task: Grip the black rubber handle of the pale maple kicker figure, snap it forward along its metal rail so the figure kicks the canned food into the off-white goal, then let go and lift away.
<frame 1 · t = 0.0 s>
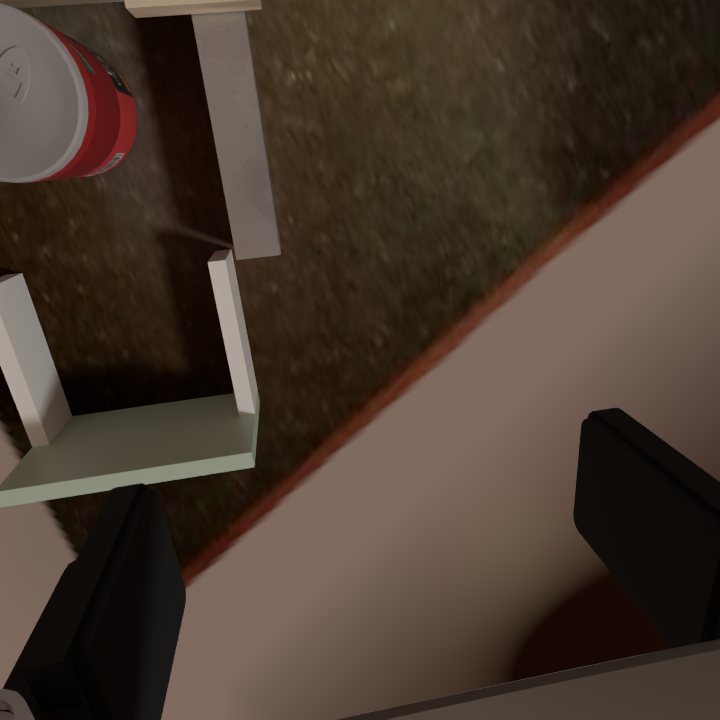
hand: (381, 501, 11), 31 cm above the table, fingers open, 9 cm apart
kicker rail: (234, 84, 35), on the table
goal: (140, 336, 40), on the table
canned food: (81, 114, 34), on the table
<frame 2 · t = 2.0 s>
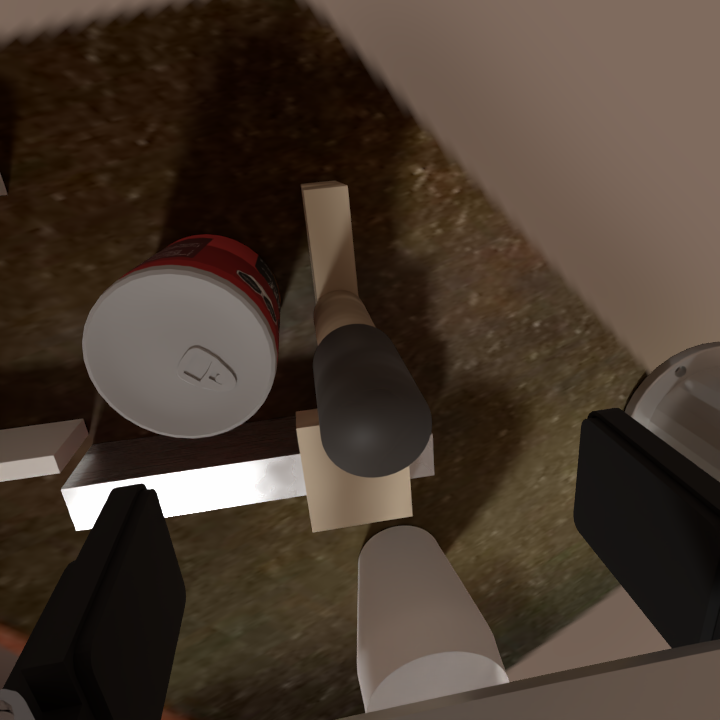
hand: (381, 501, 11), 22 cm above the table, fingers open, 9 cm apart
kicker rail: (261, 440, 35), on the table
cup: (398, 555, 41), on the table
kicker figure: (352, 398, 24), point 10 cm above the table, slide at 0.0 cm
canned food: (217, 294, 32), on the table
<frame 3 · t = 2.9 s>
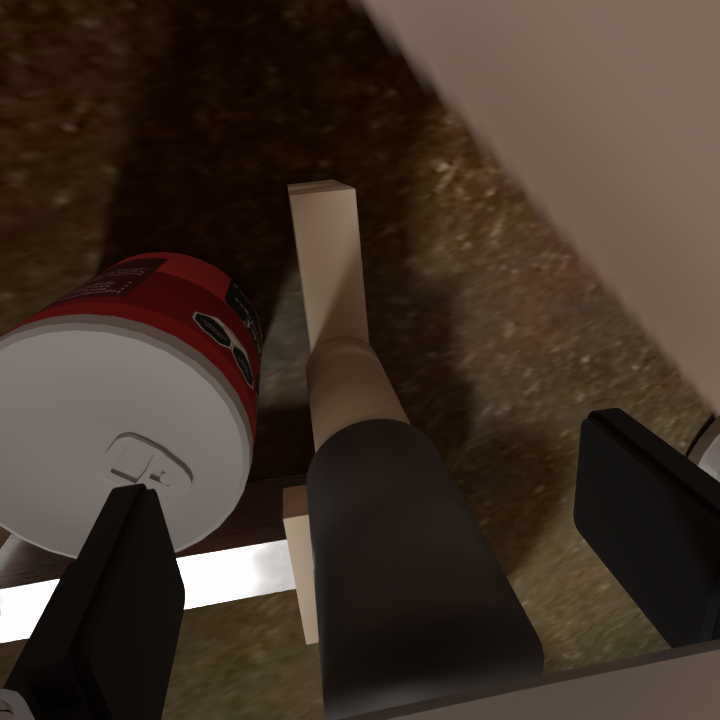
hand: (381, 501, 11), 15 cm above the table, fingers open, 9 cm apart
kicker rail: (240, 506, 28), on the table
kicker figure: (361, 492, 17), point 10 cm above the table, slide at 0.0 cm
canned food: (179, 329, 24), on the table
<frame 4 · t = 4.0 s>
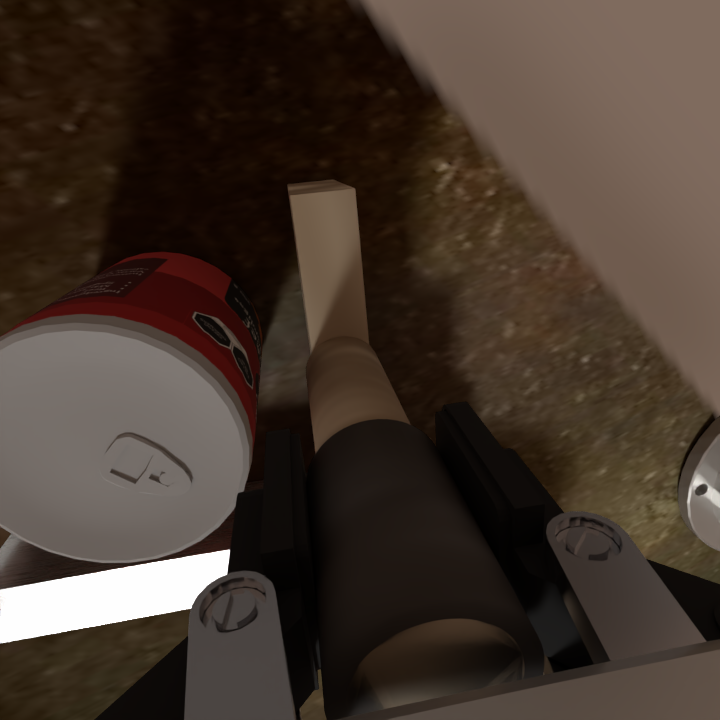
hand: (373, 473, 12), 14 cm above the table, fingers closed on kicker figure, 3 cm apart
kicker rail: (240, 506, 28), on the table
kicker figure: (361, 492, 17), point 10 cm above the table, slide at 0.0 cm, touching gripper
canned food: (179, 329, 24), on the table
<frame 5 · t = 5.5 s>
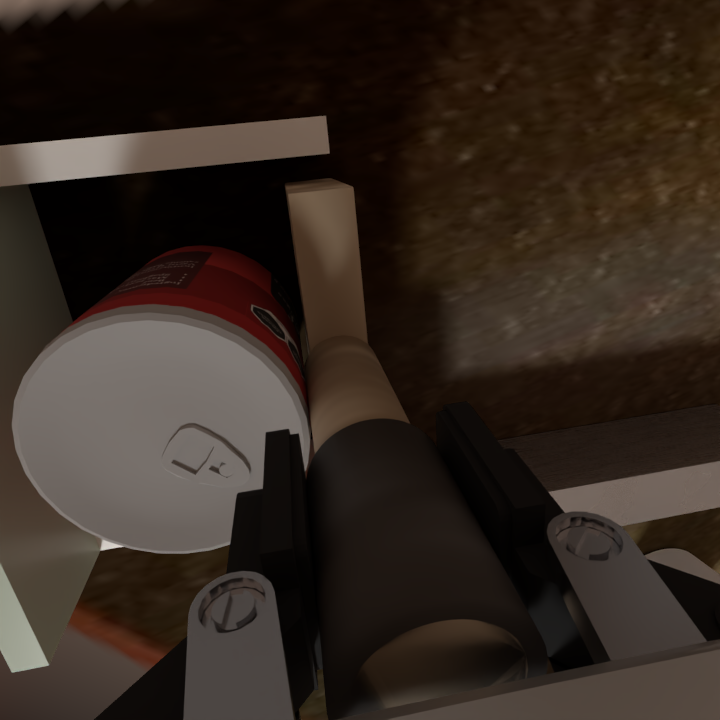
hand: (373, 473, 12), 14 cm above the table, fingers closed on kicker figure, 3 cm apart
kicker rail: (541, 454, 30), on the table
cup: (652, 581, 36), on the table
goal: (212, 325, 24), on the table
kicker figure: (360, 491, 17), point 10 cm above the table, slide at 17.7 cm, touching canned food, gripper
canned food: (215, 323, 24), on the table, touching kicker figure
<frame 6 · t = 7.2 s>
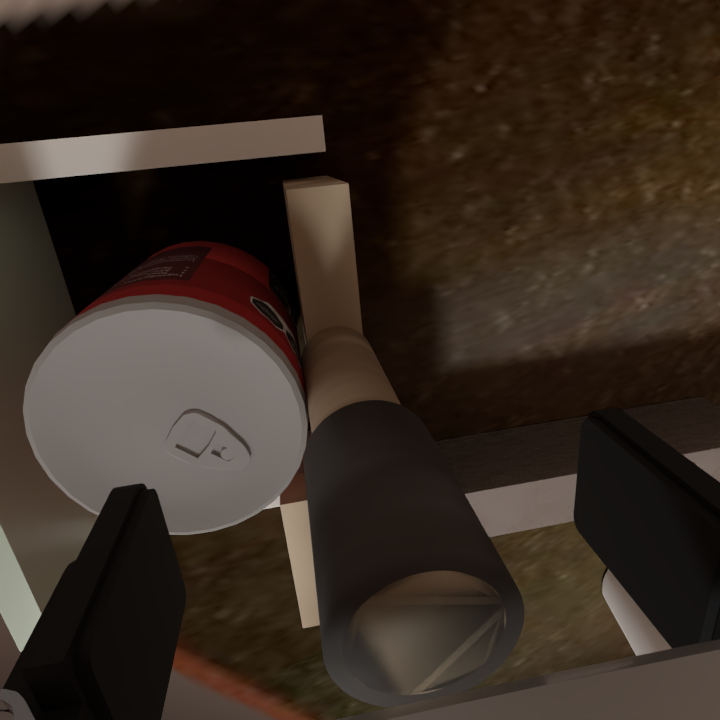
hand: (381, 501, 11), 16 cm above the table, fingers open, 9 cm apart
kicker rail: (532, 446, 31), on the table
cup: (641, 571, 37), on the table
goal: (211, 319, 25), on the table
kicker figure: (356, 476, 18), point 10 cm above the table, slide at 17.7 cm, touching canned food
canned food: (214, 317, 25), on the table, touching kicker figure
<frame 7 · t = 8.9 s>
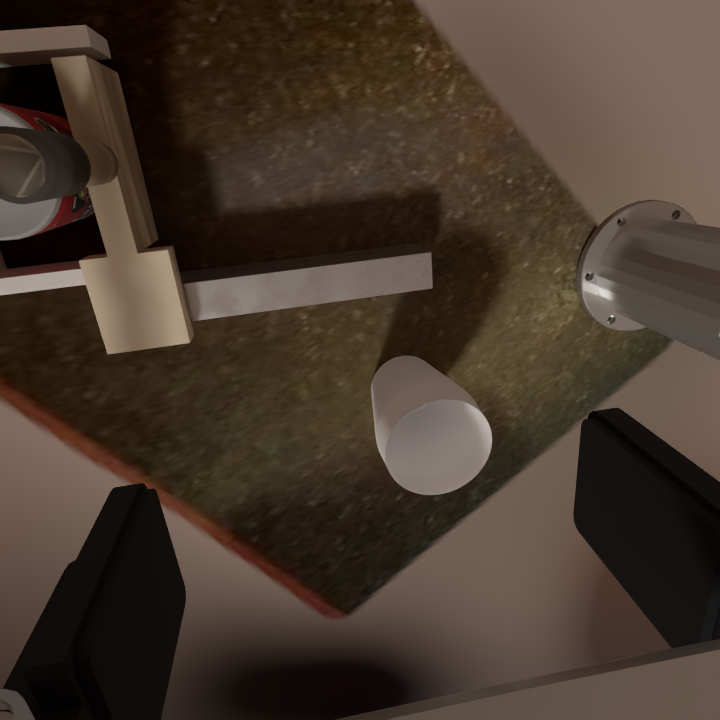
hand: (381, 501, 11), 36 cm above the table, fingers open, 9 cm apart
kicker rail: (295, 274, 45), on the table
cup: (402, 384, 51), on the table
goal: (56, 169, 39), on the table
kicker figure: (102, 222, 32), point 10 cm above the table, slide at 17.7 cm, touching canned food
canned food: (59, 168, 39), on the table, touching kicker figure
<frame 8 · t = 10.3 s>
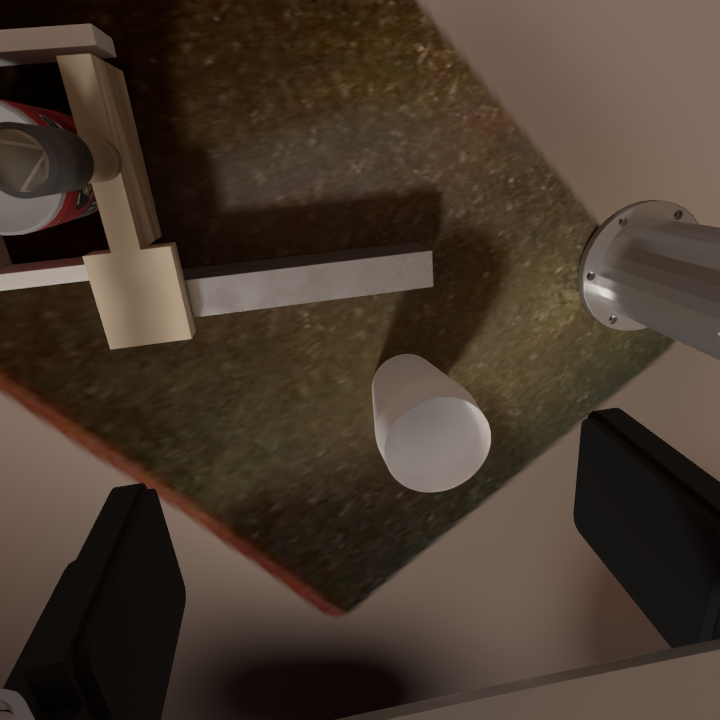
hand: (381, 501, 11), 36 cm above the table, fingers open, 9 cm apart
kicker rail: (297, 272, 45), on the table
cup: (403, 383, 51), on the table
goal: (61, 166, 39), on the table
kicker figure: (105, 218, 32), point 10 cm above the table, slide at 17.7 cm, touching canned food
canned food: (64, 165, 40), on the table, touching kicker figure
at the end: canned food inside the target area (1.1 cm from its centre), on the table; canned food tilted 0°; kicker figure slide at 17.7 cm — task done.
